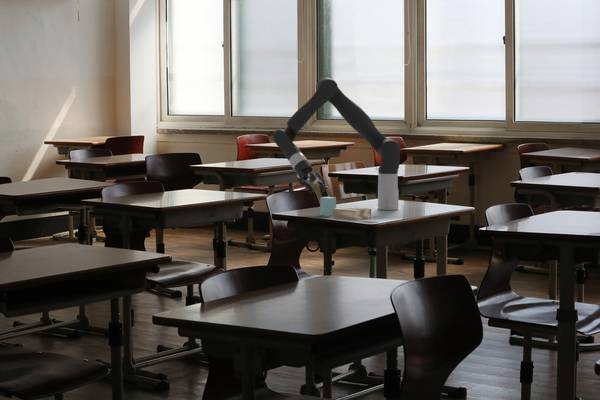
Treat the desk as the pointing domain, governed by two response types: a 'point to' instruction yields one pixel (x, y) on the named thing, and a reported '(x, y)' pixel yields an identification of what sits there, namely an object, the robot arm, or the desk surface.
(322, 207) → the teal block
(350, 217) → the block
